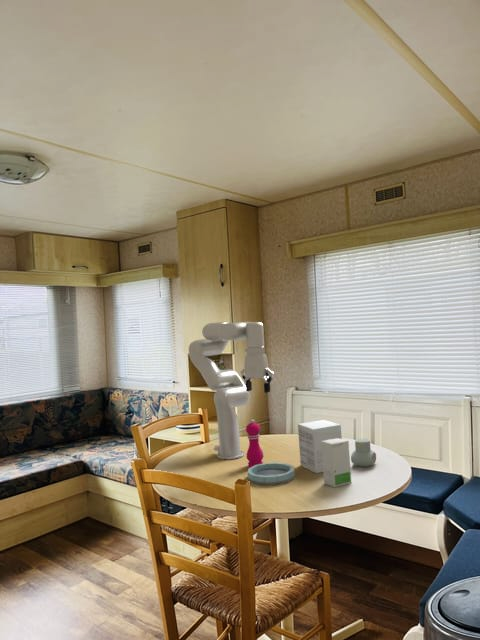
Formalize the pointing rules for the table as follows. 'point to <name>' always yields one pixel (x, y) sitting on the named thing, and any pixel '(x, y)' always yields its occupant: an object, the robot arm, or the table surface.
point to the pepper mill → (254, 445)
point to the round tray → (271, 473)
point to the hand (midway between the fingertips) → (258, 391)
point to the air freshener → (363, 454)
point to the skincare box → (336, 462)
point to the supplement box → (315, 442)
